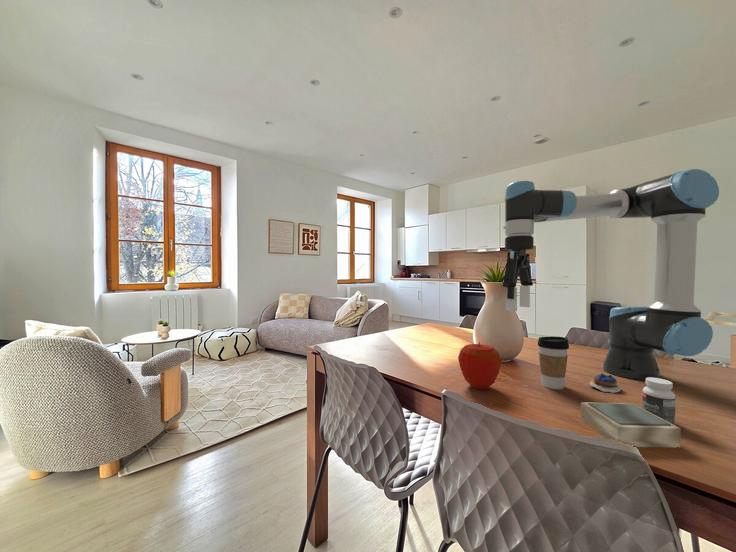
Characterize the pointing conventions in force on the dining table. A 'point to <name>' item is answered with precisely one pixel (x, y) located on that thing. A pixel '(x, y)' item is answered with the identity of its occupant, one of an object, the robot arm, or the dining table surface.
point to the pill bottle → (659, 399)
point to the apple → (479, 365)
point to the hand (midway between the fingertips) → (518, 308)
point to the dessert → (605, 383)
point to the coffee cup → (553, 361)
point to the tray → (630, 424)
